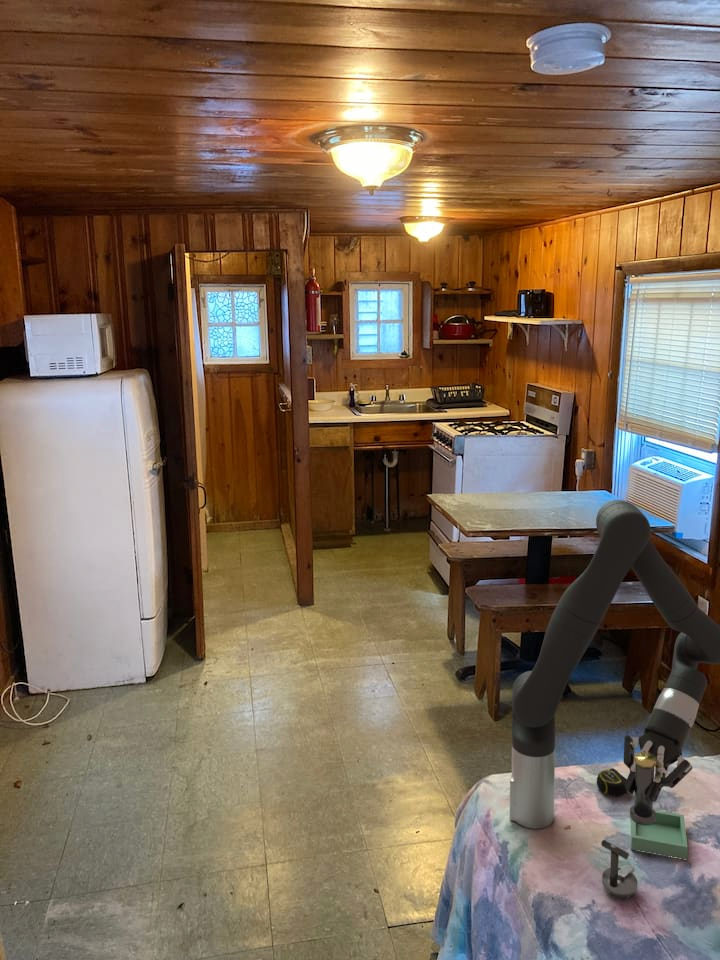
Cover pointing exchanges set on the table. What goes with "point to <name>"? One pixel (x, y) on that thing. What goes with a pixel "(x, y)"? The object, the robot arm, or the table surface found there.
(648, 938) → the table surface
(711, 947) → the table surface
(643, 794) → the pin
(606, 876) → the t-handle
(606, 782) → the tape measure
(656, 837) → the tray
